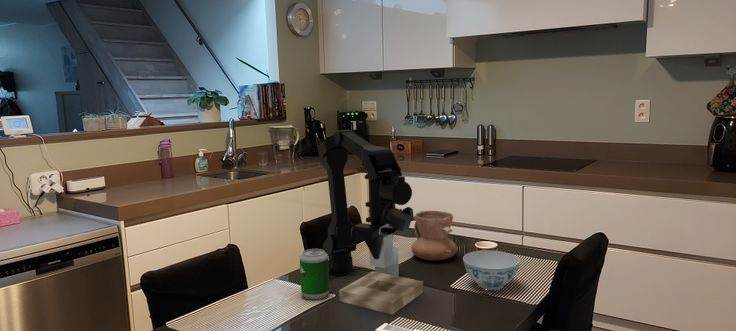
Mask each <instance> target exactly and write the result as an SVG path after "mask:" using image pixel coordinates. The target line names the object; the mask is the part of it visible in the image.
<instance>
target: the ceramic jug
mask: <svg viewBox="0 0 736 331" xmlns="http://www.w3.org/2000/svg"><path fill="white" fill-rule="evenodd" d="M414 220H415V223H414V234H415V236H416V240H415V241H413V243H412V245H411V252H412V254H413V255H414V256H416V257H417V258H419V259H422V260H426V261H431V262H436V261H438V262H439V261H445V260H448V259H450V258H452V257H454V256H455V255H456V254H457V251H458V250H457V249H458V246H457V244H456V243H455V241H454V240H451V238H449V237H448V234H450V233H451V232H453V229H452V228H451V227H452V224H453V222H454V221H453V220H454V214H453V213H451V212H446V211H442V210H441V211H440V210H431V209H430V210H421V211H418V212H415V213H414Z"/></svg>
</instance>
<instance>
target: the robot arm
mask: <svg viewBox="0 0 736 331" xmlns="http://www.w3.org/2000/svg"><path fill="white" fill-rule="evenodd" d="M349 153H351V154H352V155H353V156H355V157H356V158H358V159H359V160H361V164H360V165H361V166H362V168H363V169H365V171H366V172H367V173H366V174H365V175H364V179H365V180H368V183H367V184H368V185H367V186H368V201H366V202H365V207H367V208H368V217H366V218H365V223H364V222H360V223H358V224H355V223H353V222H352V221H351V220H350V218H349V210H348V209H349V208H348V200H347V190H346V181H345V172H344V171H345V170H344V169H345V168H346V165H347V163H348V160H349ZM317 154H318V156H319V161H320V163H321V165H322V166H323V168H324V169H325V170H326V174H327V175H326V176H327V182H328V183H327V184H328V191H329V192H328V193H329V201H330V202H329V203H330V210H331V220H330V221H331V222H330V223H329V226H328V228H327V237H326V239H325V241H324V243H323V244H322V248H323V249H322V250H324V251H325V253H327V254H328V269H329V274H332V275H337V276H342V277H343V276H346V275H348V274H350V273H351V272H353V271H354V270H355V269H356V268H355V267H354V266H353V264H354V262H353V256H352V252H355V251H356V250H357V245H358V244H357V243H358V239H361V240H363V241H364V243H365V245H366V246H367V248H368V250H370V251H369V253H370V252H371V254H372V256H373V258H374V259H376V260H377V259H378V258H379V247H380V240H381V239H382V238H383V237H384V235H380V232H386V233H392V234H393V236H394V235H395V234H396V233H397V232H398V231H399V232H404V230H406V229H410V226H411V223H412V222H414V220H415V214H414V209H413V207H412V208H411V207H410V206H407V207H405V208H397V207H396V205H398V206H404V205H406V204H407V203H409V202H410V200H411V198H412V195H413V189H412V186H411V185H410V184H409V183H408V182H406V177H405V176H403V173H402V168H401V167H400V166H399V163H398V161H397V159H396V156H395V154H394V152H393V151H392V150H391V149H390V148H388V147H386V146H385V147H384V146H379V145H378V146H377V145H373V144H372V143H370V142H369V141H367V140H365V139H364V138H362V137H361V136H359V135H357V134H356V133H355V131H354V130H351V129H343V130H340V129H339V130H337V131H334V133H333V134H332V135H330V136H329V137H326V138H325V139H324V140H322V141H321V143H320V144H319V145H318V147H317Z"/></svg>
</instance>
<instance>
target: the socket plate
mask: <svg viewBox="0 0 736 331" xmlns="http://www.w3.org/2000/svg"><path fill="white" fill-rule="evenodd" d="M338 293H339V302H341V303H345V304H350V305H353V306H357V307H361V308H365V309H368V310H373V311H377V312H381V313H383V314H389V315H395V313H397V312H398V311H400V310H401V309H402V308H404V307H405V306H406V305H408V304H409V303H411V302H412V301H413V300H414V299H416V298H418V297H419V296H420V295H422V293H424V281H422V280H419V279H412V278H407V277H402V276H394V275H389V274H384V273H379V272H375V271H374V270H373V271H371V272H369V273H367V274H366V275H364V276H362V277H360V278H357V280H355V281H353V282H351V283H349V284H348V285H346V286H344V287H342V288H340V289H339V290H338Z"/></svg>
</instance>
